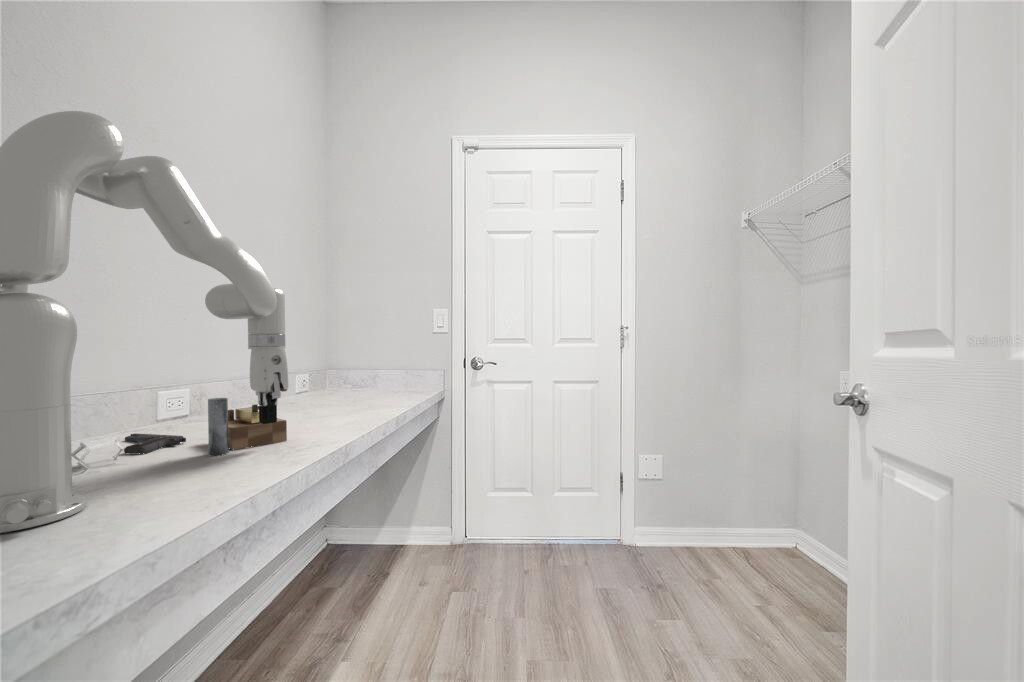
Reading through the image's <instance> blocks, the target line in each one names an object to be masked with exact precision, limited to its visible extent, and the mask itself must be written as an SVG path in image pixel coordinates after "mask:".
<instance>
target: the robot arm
mask: <svg viewBox="0 0 1024 682" xmlns="http://www.w3.org/2000/svg"><path fill="white" fill-rule="evenodd" d="M124 144H125V143H124V138H123V135H122V134H121V131H120V130H119V129H118V127H117V126H116V125H115V124H114V123H112V121H110V120H109V119H107V118H105V117H103V116H101V115H100V114H99V115H98V114H95V113H93V112H89V111H82V110H67V111H65V110H64V111H57V112H52V113H47V114H44V115H42V116H39V117H37V118H35V119H32V120H31V121H29V122H27V123H25V124H24V125H22V126H20V127H19V128H17V129H16V130H15V131H13V133H12V134H10V135H9V136H8V137H7V138H6V139H5V140H4V141H3V142H2V144H1V145H0V534H2V533H3V534H4V533H10V532H14V531H15V532H16V531H21V530H26V529H30V528H35V527H38V526H39V527H40V526H42V525H46V524H50V523H53V522H56V521H60V520H62V519H66V518H68V517H71V516H74V515H75V514H77V513H79V512H81V511H82V510H84V509H85V507H87V505H88V499H87V497H86V496H84V495H82V494H76V493H75V494H74V493H73V465H72V463H73V462H72V461H73V460H72V458H73V457H72V456H71V454H72V417H71V415H72V410H71V407H72V406H71V405H72V404H71V380H72V376H71V375H72V366H73V359H74V354H75V351H76V348H77V347H76V345H77V342H78V341H77V340H78V326H77V325H78V324H77V322H76V320H75V317H74V315H73V314H72V312H71V310H69V308H67V307H66V306H65V305H64V304H63V303H61V302H60V301H58V300H57V299H55V298H52V297H49V296H47V295H43V294H39V293H33V292H28V288H29V285H35V284H43V283H48V282H52V281H54V280H56V279H58V278H60V277H61V276H63V274H64V273H65V272H66V270H67V268H68V266H69V260H70V246H71V245H70V244H71V224H72V223H71V221H72V211H73V210H72V209H73V208H72V207H73V203H74V202H73V201H74V197H75V194H78V195H81V196H83V197H87V198H90V199H91V200H95V201H97V202H100V203H103V204H106V205H109V206H112V207H116V208H120V209H124V210H125V209H126V210H136V209H143V210H144V211H145V213H146V214H147V216H148V217H149V219H150V220H151V221H152V223H153V224H154V225H155V227H156V228H157V229H158V231H159V232H160V234H161V235H162V236H163V238H164V239H165V240H166V242H167V244H168V245H169V246H170V248H171V249H172V250H173V251H174V252H176V253H177V254H179V255H181V256H184V257H186V258H188V259H191V260H192V261H196V262H199V263H201V264H205V265H207V266H208V267H211V268H212V269H214V270H216V271H218V272H219V273H221V274H222V275H223V276H224V277H226V279H228V280H229V281H230V282H231V283H225V284H219V285H216V286H214V287H212V288H210V289H209V291H208V292H207V293H206V295H205V299H204V303H205V307H206V308H207V310H208V311H209V313H210V314H212V315H213V316H215V317H217V318H220V319H224V320H243V319H247V349H248V350H250V361H249V363H250V364H249V383H250V384H249V385H250V389H251V390H252V391H253V392H255V396H256V397H257V400H258V401H257V404H259V422H260V423H261V424H268V423H275V422H277V418H278V412H277V411H278V407H277V405H278V399H280V398H281V397H282V396H281V395H282V394H281V392H282V393H283V392H287V391H288V390H289V371H288V361H287V360H288V359H287V353H286V297H285V292H284V291H283V290H282V289H281V288H276V287H274V286H273V284H272V283H271V281H270V279H269V277H268V276H267V273H265V271H264V269H263V267H262V266H261V265H260V263H258V261H257V260H256V259H255V258H254V257H253V256H251V254H250V253H248V252H247V251H246V250H244V248H242V247H241V246H239V245H238V244H237V243H235V242H234V241H232V240H231V239H230V238H228V237H226V235H224V234H223V233H221V232H220V231H219V230H218V228H217V227H216V225H215V224H214V222H213V220H212V219H211V218H210V215H208V213H207V211H206V210H205V208H204V207H203V205H202V204H201V202H200V201H199V198H198V197H197V196H196V194H195V192H194V191H193V189H192V187H191V186H190V184H189V183H188V181H187V179H186V178H185V176H184V175H183V174H182V172H181V171H180V169H179V168H178V167H177V166H176V164H174V163H173V161H172V160H171V161H170V160H169V159H167V158H164V157H162V156H158V155H143V156H135V157H130V158H125V159H121V158H122V157H123V154H124V149H125V147H124Z"/></svg>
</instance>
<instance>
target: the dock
mask: <svg viewBox="0 0 1024 682" xmlns="http://www.w3.org/2000/svg"><path fill="white" fill-rule="evenodd" d="M248 407H249V406H248ZM249 408H252V406H250V407H249ZM287 433H288V431H287V420H286V419H283V418H278V417H277V422H275V423H268V424H261V423H260V422H257V423H249V422H245V421H242V420H238V419H235V410H234V409H228V448H230V449H232V450H231V451H234V450H233V449H237V450H241V449H240V448H243V449H247V448H246V447H249V448H252V447H251V446H254V447H259V446H258V445H260V446H265V444H266V445H271V444H276V443H283V442H286V441H287V440H288V438H287V437H288V436H287ZM230 449H229V450H230Z"/></svg>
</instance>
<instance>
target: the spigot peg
mask: <svg viewBox="0 0 1024 682" xmlns="http://www.w3.org/2000/svg"><path fill="white" fill-rule="evenodd" d="M228 401H229V400H228V397H215V398H214V397H213V398H208V399H207V416H208V417H207V419H208V420H207V422H208V425H207V426H208V428H207V430H208V433H207V435H208V456H209V455H220V456H223V455H222V454H225V455H227V454H226V453H228V454H229V449H228V410H229V407H228V404H229V402H228Z"/></svg>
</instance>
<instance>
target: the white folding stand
mask: <svg viewBox="0 0 1024 682" xmlns="http://www.w3.org/2000/svg"><path fill="white" fill-rule="evenodd" d="M111 445H116V446H117V447H118V449H119V451H117V453H115V455H113V456H112V458H113V462H114V464H115V463H117V464H118V462H117V460H116V459H117V458H118V457H119V455H120V454H121V453H122V452H124V449H125V447H123V446H122V445H121V444H120V443H119V441H118V440H117V438H116V436H110V437H105V438H100V439H95V440H88V441H83V442H79V447H77V448H76V449H75V450H74V451H73V452H71V456H72V458H74V459H75V460H77V462H76V464H77V466H76V468H80V467H82V468H84V470H83V471H81V472H80V474H84V473H85V472H86V471H88V470H89V469H90V468H89V467H88V466H86V463H85V462H84V459H85V458H86V457H87V455H88V454H89V453H90V452H91V451H94V450H97V449H101V448H106V447H108V446H111ZM83 449H85V452H84V454H83V455H82V456H81V458H79V457H78V456H76V455H77V454H79V452H81V451H82V450H83Z"/></svg>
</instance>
